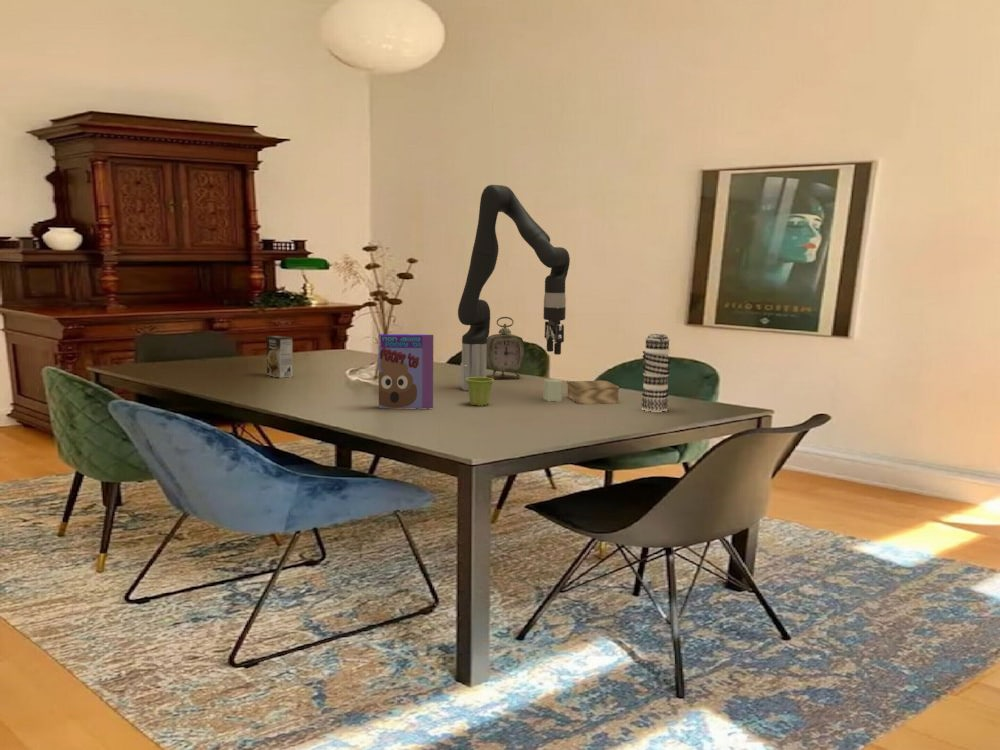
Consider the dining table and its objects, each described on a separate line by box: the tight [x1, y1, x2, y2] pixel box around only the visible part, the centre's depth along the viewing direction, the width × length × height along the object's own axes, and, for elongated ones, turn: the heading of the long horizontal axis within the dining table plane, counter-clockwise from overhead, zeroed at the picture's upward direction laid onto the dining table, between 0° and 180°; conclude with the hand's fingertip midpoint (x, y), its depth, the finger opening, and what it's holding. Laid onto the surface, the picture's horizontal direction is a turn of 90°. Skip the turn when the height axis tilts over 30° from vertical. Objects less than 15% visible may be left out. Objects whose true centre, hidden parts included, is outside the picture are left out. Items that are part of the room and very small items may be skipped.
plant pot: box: [466, 376, 495, 407], centre depth 287 cm, size 9×9×9 cm
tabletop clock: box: [487, 316, 526, 380], centre depth 345 cm, size 14×9×25 cm, turn 103°
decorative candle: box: [641, 333, 672, 413], centre depth 281 cm, size 9×9×25 cm
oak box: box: [566, 380, 620, 405], centre depth 299 cm, size 14×14×6 cm
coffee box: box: [265, 335, 294, 378], centre depth 340 cm, size 9×6×16 cm
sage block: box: [542, 379, 563, 402], centre depth 297 cm, size 5×5×7 cm
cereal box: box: [378, 333, 434, 410], centre depth 277 cm, size 17×5×24 cm, turn 94°
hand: (553, 352), depth 295 cm, fingers open, 8 cm apart
